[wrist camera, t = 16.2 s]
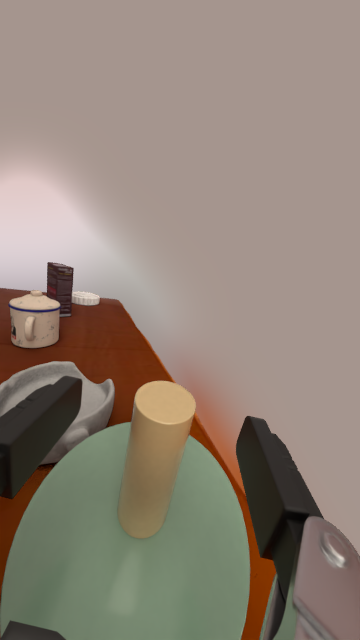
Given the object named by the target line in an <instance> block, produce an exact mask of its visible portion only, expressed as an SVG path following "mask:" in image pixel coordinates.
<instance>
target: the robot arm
mask: <svg viewBox="0 0 360 640" xmlns="http://www.w3.org/2000/svg"><path fill="white" fill-rule="evenodd" d="M82 385H83V381H82V379H80V378H76V377H71V376H66V375H65V376H63V377H62V378H60V379H59V380H58V381H57V382H56V383H54V384H48V385H45V386H43V387H41V388H39V389H36V390H35V391H34V392H32V393H31V394H30V395H28V396H27V397H26V398H25V399H24V400H22V401H21V402H19V403H18V404H17V405H16V406H15V407H13V408H11V409H10V410H9V411H7V412H6V413H5V414H4V415H2V416H1V417H0V496H1V497H5V498H9V499H13V498H14V496H15V495H16V494H17V493H18V491H19V490H20V489H21V487H22V486H23V485H24V484H25V482H26V481H27V480H28V479H29V477H30V476H31V475H32V473H33V472H34V471H35V470H36V468H37V467H38V466H39V465H40V463H41V462H42V461H43V460H44V458H45V457H46V456H47V454H48V453H49V452H50V451H51V449H52V448H53V447H54V446H55V444H56V443H57V442H58V440H59V439H60V438H61V437H62V435H63V434H64V433H65V432H66V430H67V429H68V428H69V426H70V425H71V424H72V423H73V421H74V420H75V419H76V417H77V415H78V413H79V411H80V408H81V398H82ZM236 455H237V459H238V463H239V468H240V472H241V476H242V480H243V485H244V489H245V493H246V498H247V502H248V506H249V511H250V515H251V519H252V523H253V528H254V532H255V536H256V540H257V545H258V549H259V553H260V557H261V558H266V559H270V560H273V561H274V565H275V568H276V572H277V573H276V574H275V577H274V580H273V584H272V588H271V592H270V596H269V601H268V605H267V609H266V613H265V617H264V621H263V626H262V630H261V634H260V638H259V640H360V556H359V554H358V553H357V551H356V550H355V548H354V547H353V545H352V544H351V543H350V541H349V540H348V539H347V538H346V537H345V536H344V534H343V533H342V532H341V531H340V530H339V529H337V528H336V527H335V526H334V525H332V524H331V523H330V522H328V521H326V520H325V519H324V518H323V516H322V514H321V512H320V510H319V508H318V507H317V505H316V503H315V501H314V499H313V497H312V495H311V493H310V491H309V489H308V488H307V486H306V484H305V482H304V480H303V478H302V476H301V474H300V473H299V471H298V470H297V467H296V465H295V463H294V461H293V460H292V457H291V455H290V453H289V451H288V450H287V448H286V446H285V444H284V443H283V442H282V441H281V440H280V439H279V438H278V436H277V435H276V434H272V433H271V431H270V429H269V427H268V425H267V423H266V421H265V420H264V419H260V418H255V417H251V416H247V417H246V418H245V421H244V423H243V426H242V429H241V431H240V434H239V437H238V440H237V444H236ZM0 640H66V639H65V638H64V637H63V636H62V635H61V634H59V633H58V632H57V631H53V630H49V629H45V628H41V627H36V626H32V625H28V624H24V623H19V622H15V621H11V620H10V622H9V623H8V625H7V627H6V629H5V631H4V633H3V635H2V637H1V639H0Z"/></svg>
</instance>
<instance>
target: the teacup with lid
mask: <svg viewBox="0 0 360 640" xmlns="http://www.w3.org/2000/svg"><path fill="white" fill-rule="evenodd" d="M9 307H10V312H11V336H12V343H13V344H15V345H16V346H19V347H24V348H40V347H46V346H49V345H52V344H54V343H56V342H57V341H58V339H59V310H60V308H61V306H60V303H59V302H58V301H56V300H53V299H50V298H48V297H46V296H44V295H42V292H41V291H38V290H32V291H31V294H30V295H25V296H23V297H21V298H15V299H13V300H11V301H10V303H9Z"/></svg>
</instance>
